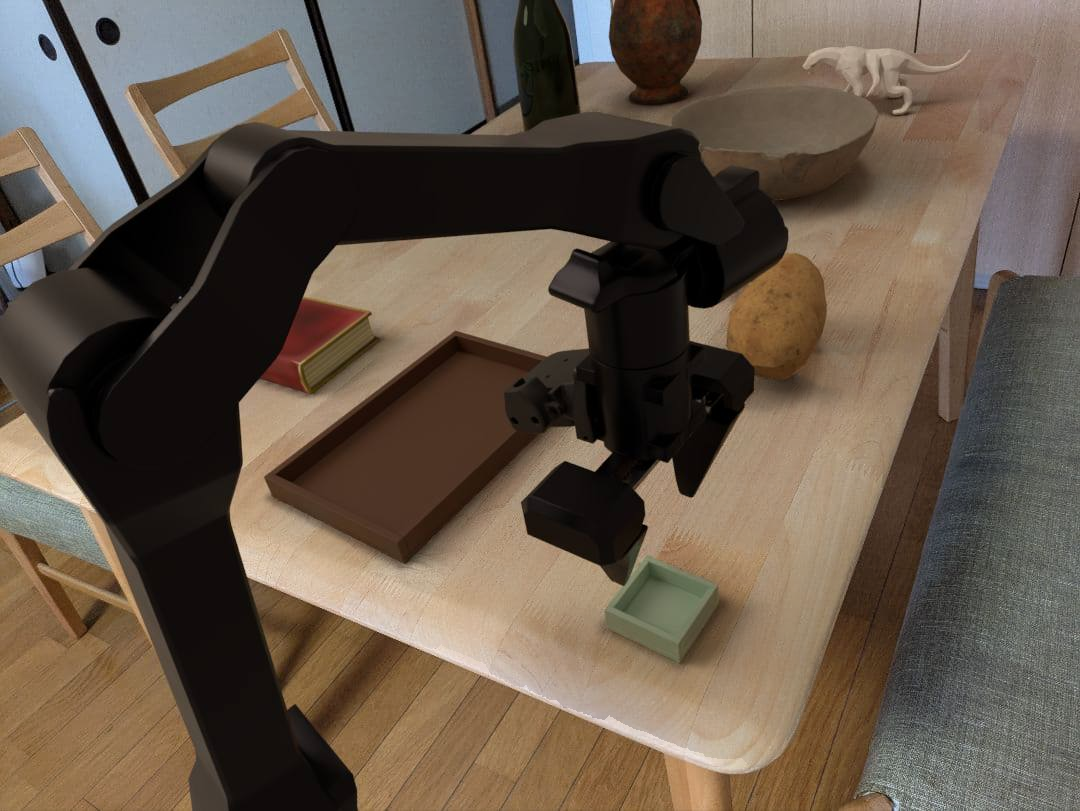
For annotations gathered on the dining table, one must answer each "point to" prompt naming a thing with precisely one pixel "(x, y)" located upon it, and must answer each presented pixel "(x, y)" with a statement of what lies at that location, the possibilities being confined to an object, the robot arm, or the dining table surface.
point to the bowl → (782, 134)
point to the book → (320, 344)
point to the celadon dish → (662, 608)
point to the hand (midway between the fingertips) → (654, 536)
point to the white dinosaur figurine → (876, 69)
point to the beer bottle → (544, 63)
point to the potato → (779, 317)
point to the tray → (412, 447)
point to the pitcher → (655, 46)
